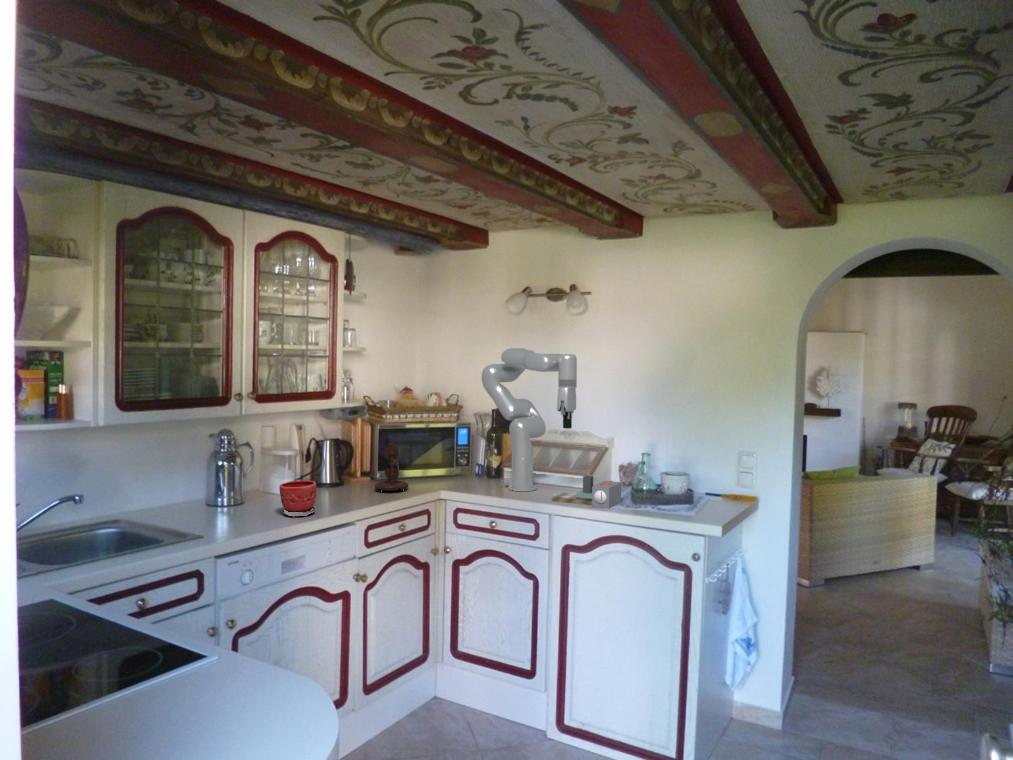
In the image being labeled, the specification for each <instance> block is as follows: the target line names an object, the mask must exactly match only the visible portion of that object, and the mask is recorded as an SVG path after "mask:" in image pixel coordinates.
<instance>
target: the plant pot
mask: <svg viewBox="0 0 1013 760" xmlns="http://www.w3.org/2000/svg"><path fill="white" fill-rule="evenodd" d="M279 495H280V502H281V505H282V506H283V508H284V509H285V510H286V511H288V512H303V513H307V511H308V512H312V511H314V510H315V511H316V508H315V507H314V505H315V503H316V499H317V482H316V481H314V480H307V479H306V480H305V479H302V480H291V481H286V482H283V483H281V484H279ZM312 508H313V510H312V511H310V510H311V509H312ZM284 509H283V510H284Z"/></svg>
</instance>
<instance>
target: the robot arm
mask: <svg viewBox="0 0 1013 760" xmlns="http://www.w3.org/2000/svg"><path fill="white" fill-rule="evenodd" d="M500 358H501V362H502V363H492V364H488V365H486V366H484V368H483V370H482V372H481V383H482V386H483V388H484V390H485V392H487V394H488V395H489V397H490V398H491V399H492V400H493V402H494V404H495V406H496V408H498V410H499V412H500V414H501V415H502V417H503V418H504V419H505V420H506V421H510V423H509V428H508V429H509V435H510V444H511V477H510V478H504V484H509V485H507V489H508V490H509V491H512V490H513V492H532V491H536V490H537V486H536V485H535V484H534V447H533V445H532V442H531V440H532V439H538V438H540V437H543V436H544V435H545V433H546V429H547V428H546V427H547V426H546V424H545V420H544V419H543V417H542V415H541V414H540V413H539V411H538V409H537V408H536V406H535V405H534V404H533V402H531V401H530V400H529V399H527V398H516V397H514V396H513V394H512V393H511V391H510V390H509V388H508V387H506V386H505V385H503V384H502V383H511V382H514V381H516V380H518V378H520V376H521V375H522V374H523V373H524V372H525V371H526V370H528V371H533V372H543V373H546V372H553V373H554V372H555V373H556V372H557V373H558V379H557V380H558V381H557V382H558V384H557V385H558V390H557V401H556V403H557V404H556V410H557V412H560V415H561V416H562V429H569V430H570V429H572V428H573V427H572V425H573V424H572V423H573V422H572V419H573V415H574V412H575V410H577V391H576V389H577V384H578V383H577V381H578V379H577V373H578V369H577V367H578V366H577V365H578V359H577V356H576V354H571V353H569V354H567V353H565V354H564V353H563V354H562V353H537V352H535V351H534V350H532V349H526V348H522V347H521V348H519V347H518V348H516V347H515V348H514V347H513V348H512V347H511V348H507V349H505V350H503V352H502V353H501V356H500Z"/></svg>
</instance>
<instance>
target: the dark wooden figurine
mask: <svg viewBox="0 0 1013 760" xmlns="http://www.w3.org/2000/svg"><path fill="white" fill-rule="evenodd" d="M384 447H385V448H384V455H385V456H386V458H387V459H388V463H389V465H387V466H386V467H385V468H384V474H385V477H386V478H387V480H383V481H382V480H381V481H378V482H377V483H375V484H374V487H375V488H376V489H375V488H374V489H375V490H378V489H381V490H383V491H399V490H398V489H401V490H402V489H404V488H406V489H408V488H409V487H408V486H409V483H408V482H406V481H404V480H398V479H399V477H400V467H399V459H398V455H399V449H398V447H397V446H396V445H395V444H393V443H390V444H387V445H386V446H384ZM395 461H396V466H397V467H396V466H395ZM407 487H408V488H407Z"/></svg>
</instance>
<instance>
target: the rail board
mask: <svg viewBox="0 0 1013 760" xmlns="http://www.w3.org/2000/svg"><path fill="white" fill-rule="evenodd" d="M551 502H559V503H570V504H579V505H588V506H592V499H590V498H580V497H576V493H571V492H562V491H561V492H558V494H553V496H551Z"/></svg>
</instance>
